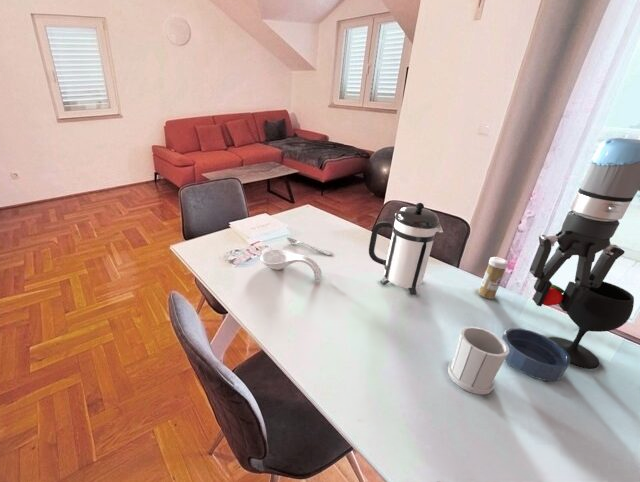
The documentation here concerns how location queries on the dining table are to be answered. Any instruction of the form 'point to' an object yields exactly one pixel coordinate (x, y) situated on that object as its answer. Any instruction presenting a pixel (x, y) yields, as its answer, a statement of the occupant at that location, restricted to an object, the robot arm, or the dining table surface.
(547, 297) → the strawberry
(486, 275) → the sprinkles bottle
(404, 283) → the coffee press
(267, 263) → the spoon rest
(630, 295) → the wine glass
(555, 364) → the bowl
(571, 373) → the dining table surface
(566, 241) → the robot arm
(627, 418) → the dining table surface
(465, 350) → the cup
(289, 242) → the spoon
